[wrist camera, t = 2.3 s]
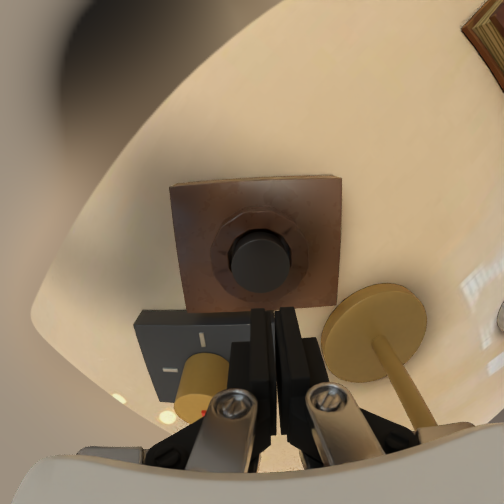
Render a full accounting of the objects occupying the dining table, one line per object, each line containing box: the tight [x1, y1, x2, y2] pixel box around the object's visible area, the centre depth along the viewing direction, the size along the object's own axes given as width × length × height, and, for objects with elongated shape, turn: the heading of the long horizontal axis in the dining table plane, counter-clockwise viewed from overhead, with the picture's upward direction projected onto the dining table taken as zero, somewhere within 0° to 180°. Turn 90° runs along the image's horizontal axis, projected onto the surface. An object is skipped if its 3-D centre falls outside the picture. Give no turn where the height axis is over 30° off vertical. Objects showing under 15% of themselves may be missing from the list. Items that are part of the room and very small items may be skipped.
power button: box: [231, 232, 290, 293], centre depth 19 cm, size 4×4×2 cm
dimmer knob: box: [174, 353, 229, 424], centre depth 22 cm, size 4×4×5 cm
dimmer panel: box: [133, 310, 275, 403], centre depth 25 cm, size 12×10×3 cm
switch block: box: [169, 176, 342, 313], centre depth 21 cm, size 12×10×4 cm
